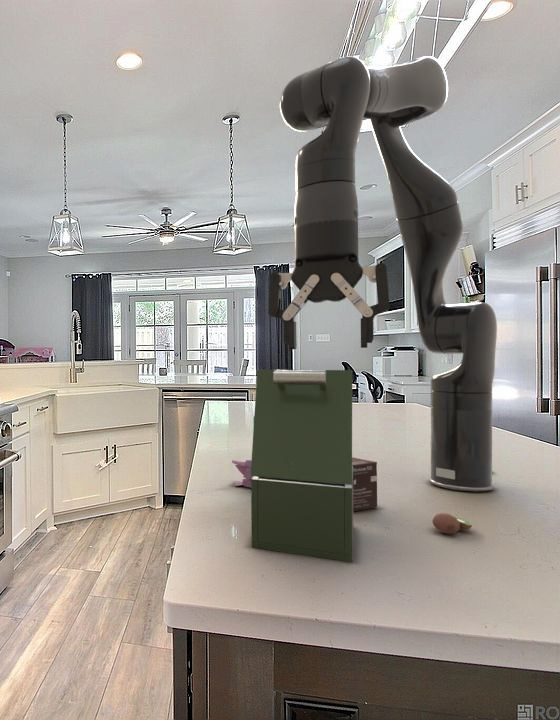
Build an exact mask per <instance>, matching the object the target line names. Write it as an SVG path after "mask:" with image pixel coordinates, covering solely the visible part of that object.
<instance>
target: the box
mask: <svg viewBox="0 0 560 720" xmlns="http://www.w3.org/2000/svg"><path fill="white" fill-rule="evenodd" d="M352 466H353V512H358V511H365V510H369V509H375V508H377V507H378V469H377V468H378V462H377V461H374V460H369V459H363V458H357V457H353V456H352Z"/></svg>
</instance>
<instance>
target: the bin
mask: <svg viewBox="0 0 560 720" xmlns="http://www.w3.org/2000/svg"><path fill="white" fill-rule="evenodd" d="M250 500H251V501H250V504H251V505H250V507H251V508H250V512H251V516H250V517H251V518H250V519H251V520H250V522H251V530H250V531H251V548H254V549H262V550H267V551H275V552H281V553H282V552H283V553H287V554H288V553H289V554H293V555H294V554H295V555H302V556H308V557H315V558H322V559H329V560H335V561H342V562H349V563H352V562H353V554H354V553H353V551H354V550H353V548H354V511H353V466H352V485H343V484H332V483H321V482H310V481H299V480H288V479H277V478H266V477H255V476H254V477H253V478H252V479H251V488H250Z"/></svg>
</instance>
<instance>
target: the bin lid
mask: <svg viewBox="0 0 560 720" xmlns="http://www.w3.org/2000/svg"><path fill="white" fill-rule="evenodd" d="M253 413H254V415H253V418H254V422H253V431H252V432H253V433H252V445H251V447H252V448H251V460H252V461H251V476H255V477H266V478H277V479H288V480H299V481H310V482H321V483H332V484H343V485H352V457H353V370H352V369H257V370H256V383H255V399H254V412H253Z"/></svg>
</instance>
